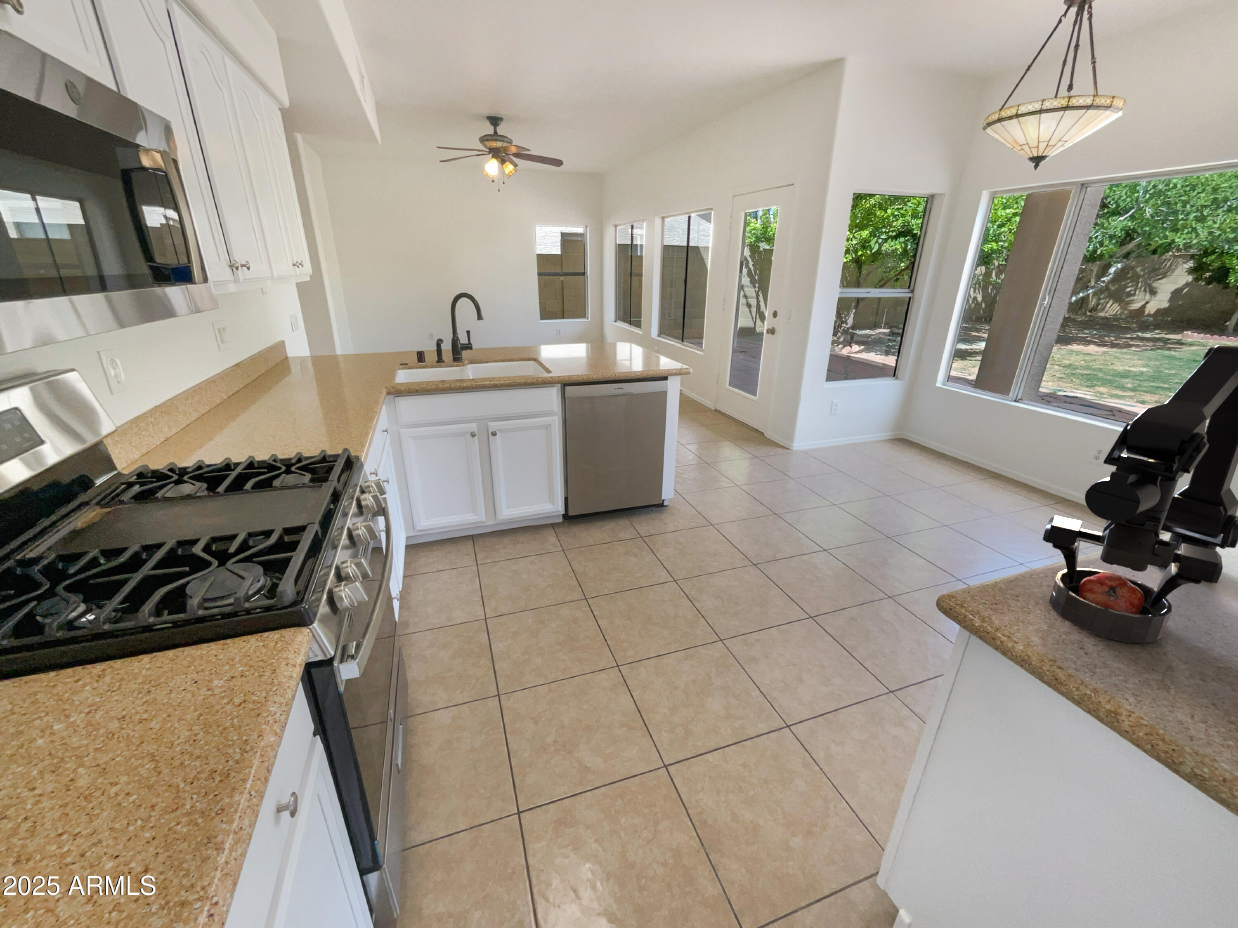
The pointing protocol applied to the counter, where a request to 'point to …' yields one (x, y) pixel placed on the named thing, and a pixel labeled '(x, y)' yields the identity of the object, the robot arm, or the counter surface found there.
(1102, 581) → the tomato
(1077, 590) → the dark shallow dish
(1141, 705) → the counter surface
